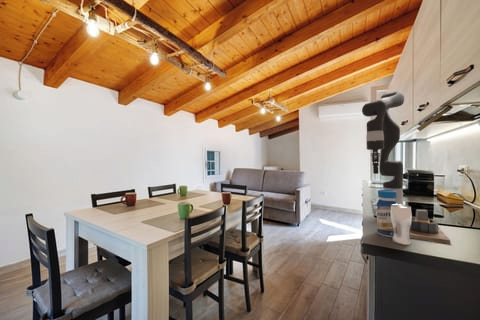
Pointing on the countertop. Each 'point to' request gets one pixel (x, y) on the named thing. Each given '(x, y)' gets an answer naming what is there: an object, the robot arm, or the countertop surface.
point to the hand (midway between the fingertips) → (375, 173)
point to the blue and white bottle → (385, 212)
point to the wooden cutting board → (431, 236)
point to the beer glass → (401, 223)
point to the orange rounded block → (422, 216)
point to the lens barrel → (424, 226)
